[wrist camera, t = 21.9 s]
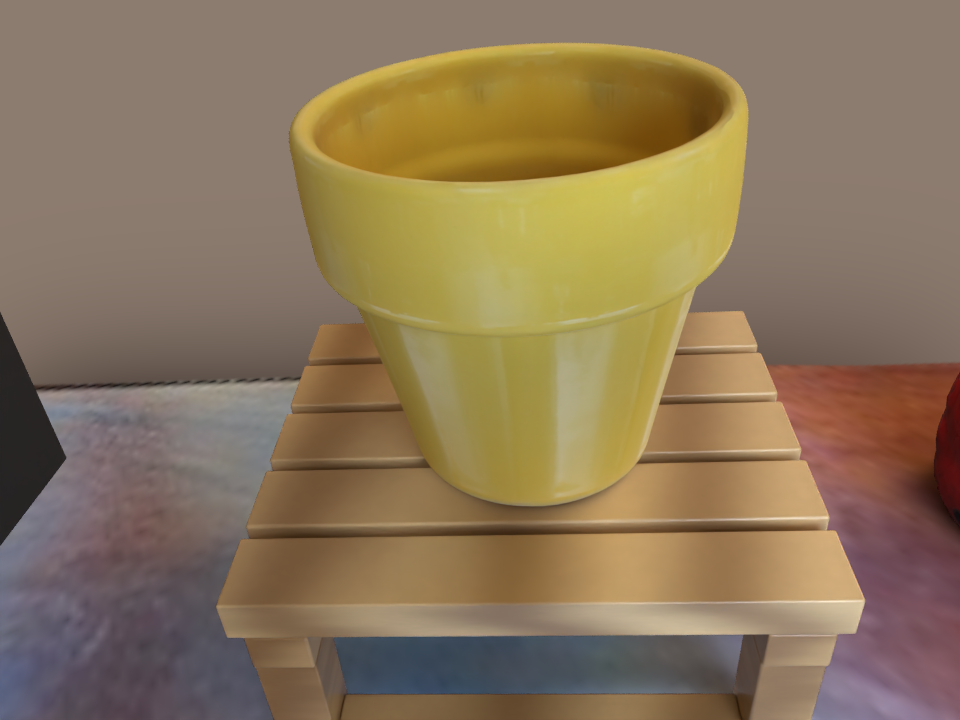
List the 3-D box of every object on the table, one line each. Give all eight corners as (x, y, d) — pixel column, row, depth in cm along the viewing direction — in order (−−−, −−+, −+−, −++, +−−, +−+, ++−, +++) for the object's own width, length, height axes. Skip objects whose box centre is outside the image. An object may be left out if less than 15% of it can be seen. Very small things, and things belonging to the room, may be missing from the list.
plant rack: (720, 480, 34) (743, 310, 29) (809, 790, 23) (866, 600, 19) (353, 487, 35) (320, 323, 30) (281, 787, 24) (214, 607, 20)
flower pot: (324, 375, 27) (261, 72, 22) (611, 308, 30) (620, 19, 24) (399, 617, 19) (329, 228, 14) (788, 497, 21) (863, 124, 16)
